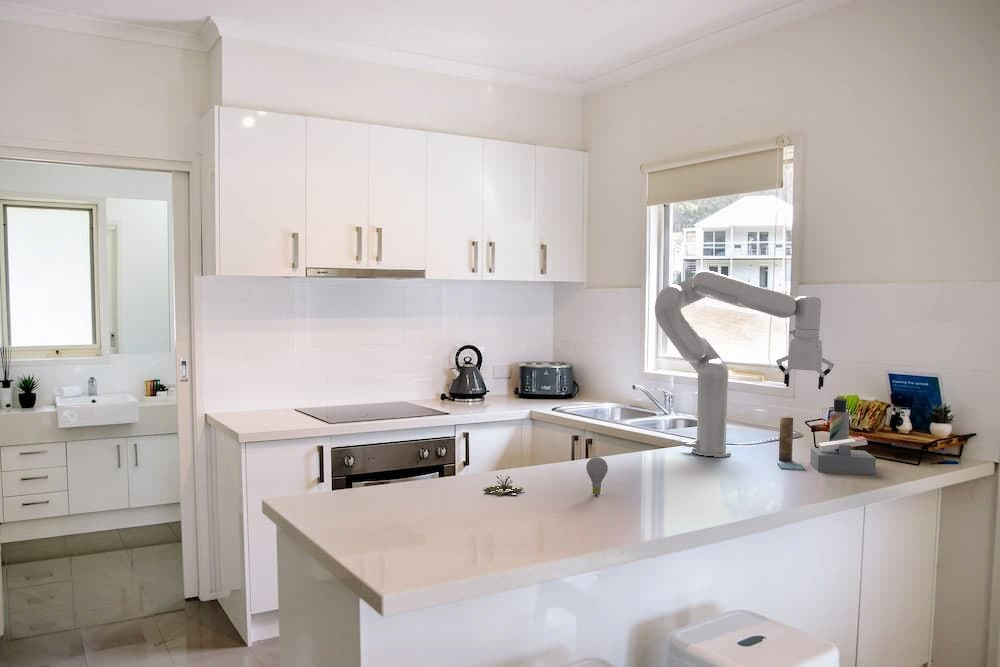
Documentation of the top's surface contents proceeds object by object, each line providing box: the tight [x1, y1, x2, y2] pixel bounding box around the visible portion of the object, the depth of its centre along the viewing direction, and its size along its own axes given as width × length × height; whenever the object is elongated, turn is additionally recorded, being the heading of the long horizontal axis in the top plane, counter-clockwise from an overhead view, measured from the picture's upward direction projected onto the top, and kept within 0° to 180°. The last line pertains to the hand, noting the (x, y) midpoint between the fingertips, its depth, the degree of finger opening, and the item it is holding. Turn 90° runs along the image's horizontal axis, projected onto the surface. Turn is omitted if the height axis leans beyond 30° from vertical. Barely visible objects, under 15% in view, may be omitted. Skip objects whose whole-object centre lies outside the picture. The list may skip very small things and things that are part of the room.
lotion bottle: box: [828, 396, 850, 442], centre depth 248 cm, size 6×6×20 cm
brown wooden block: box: [778, 416, 794, 463], centre depth 243 cm, size 4×4×14 cm
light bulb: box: [585, 456, 609, 496], centre depth 194 cm, size 5×6×10 cm
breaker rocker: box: [817, 435, 868, 451], centre depth 231 cm, size 13×5×2 cm, turn 78°
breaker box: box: [809, 445, 877, 476], centre depth 231 cm, size 16×12×8 cm
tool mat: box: [777, 462, 806, 471], centre depth 232 cm, size 7×7×1 cm
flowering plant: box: [482, 474, 523, 497], centre depth 197 cm, size 12×12×5 cm
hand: (803, 387), depth 242 cm, fingers open, 9 cm apart
